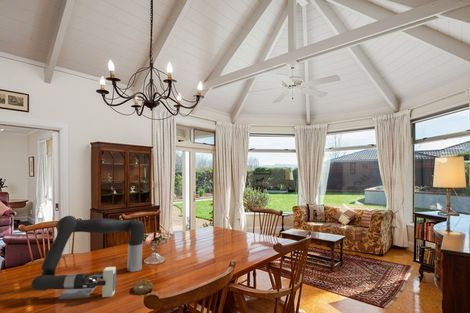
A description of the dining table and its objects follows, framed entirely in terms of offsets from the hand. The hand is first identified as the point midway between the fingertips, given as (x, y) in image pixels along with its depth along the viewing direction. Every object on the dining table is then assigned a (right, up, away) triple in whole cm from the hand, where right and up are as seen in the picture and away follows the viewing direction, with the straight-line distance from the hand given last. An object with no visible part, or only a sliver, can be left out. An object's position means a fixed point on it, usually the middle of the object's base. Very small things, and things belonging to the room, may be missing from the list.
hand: (108, 279), depth 145 cm
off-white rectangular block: (+1, -8, 0) cm, 8 cm away
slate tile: (-17, -8, +2) cm, 19 cm away
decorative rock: (+17, -9, +7) cm, 20 cm away
